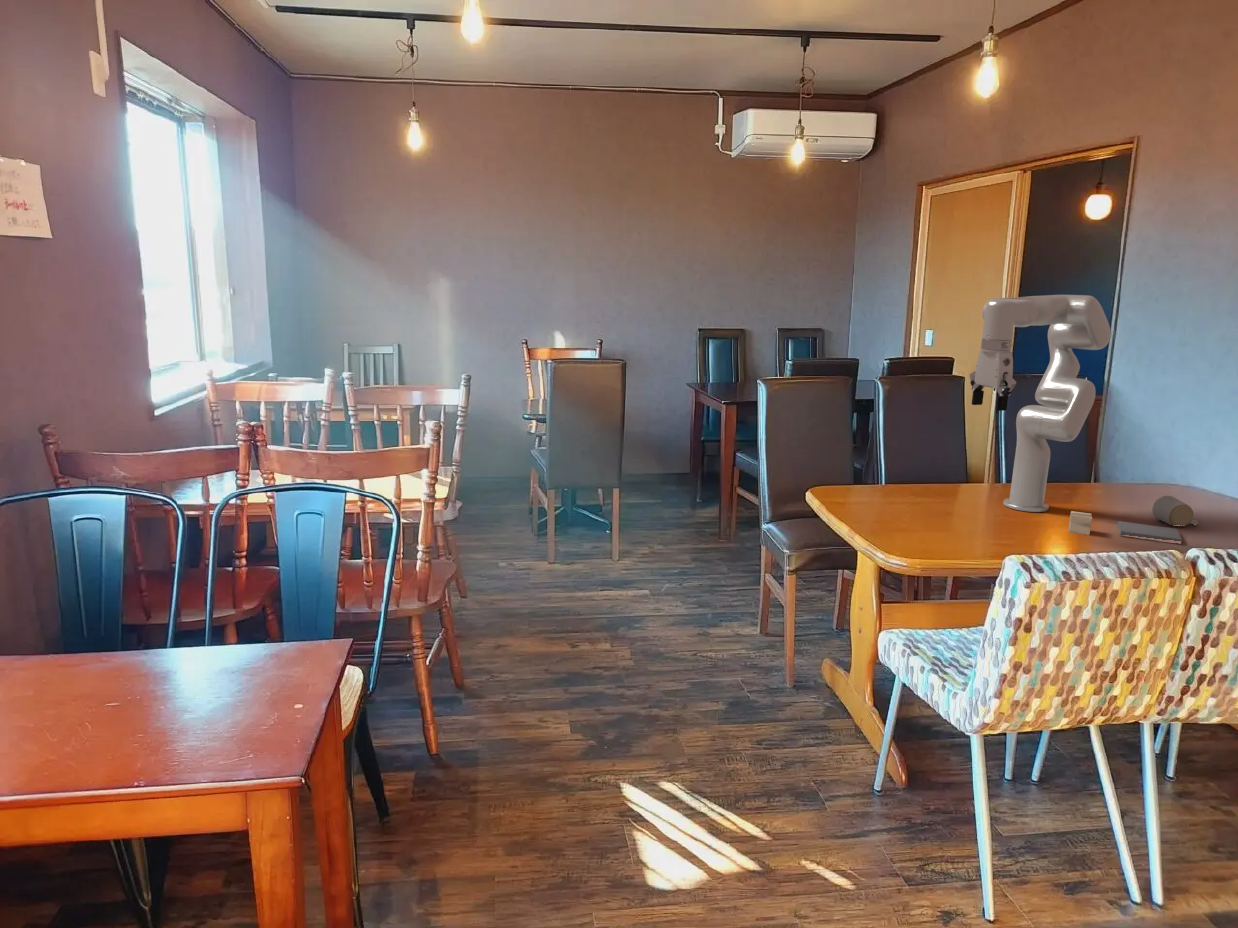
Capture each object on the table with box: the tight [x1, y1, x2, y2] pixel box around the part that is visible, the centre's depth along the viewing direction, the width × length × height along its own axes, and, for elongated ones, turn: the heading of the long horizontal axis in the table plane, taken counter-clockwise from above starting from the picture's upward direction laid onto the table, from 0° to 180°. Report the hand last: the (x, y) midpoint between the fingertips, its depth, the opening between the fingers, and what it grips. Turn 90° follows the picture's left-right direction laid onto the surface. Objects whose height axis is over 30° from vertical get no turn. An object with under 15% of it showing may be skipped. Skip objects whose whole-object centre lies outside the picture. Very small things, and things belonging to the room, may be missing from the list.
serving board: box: [1117, 520, 1183, 541], centre depth 225 cm, size 11×14×2 cm
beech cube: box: [1068, 510, 1093, 536], centre depth 227 cm, size 5×5×5 cm
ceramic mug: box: [1151, 495, 1199, 526], centre depth 235 cm, size 11×8×8 cm
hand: (988, 407), depth 227 cm, fingers open, 9 cm apart
